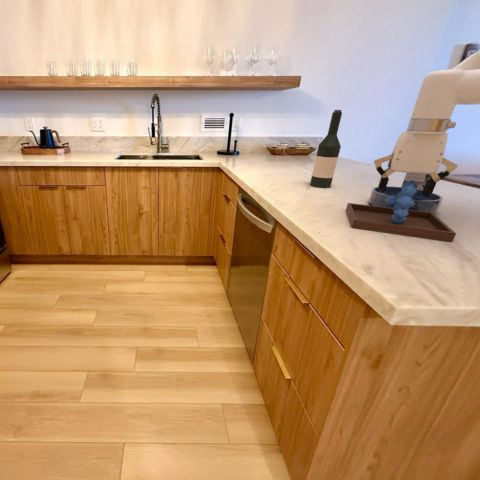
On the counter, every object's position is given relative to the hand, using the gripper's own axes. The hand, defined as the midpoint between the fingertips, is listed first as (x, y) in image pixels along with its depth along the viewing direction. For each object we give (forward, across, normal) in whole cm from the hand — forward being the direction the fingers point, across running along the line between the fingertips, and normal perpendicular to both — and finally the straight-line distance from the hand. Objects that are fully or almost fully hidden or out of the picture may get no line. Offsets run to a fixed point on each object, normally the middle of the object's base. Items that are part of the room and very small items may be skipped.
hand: (402, 193), depth 79 cm
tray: (+9, 0, 0) cm, 9 cm away
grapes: (+9, 0, 0) cm, 9 cm away
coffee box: (+9, -11, -33) cm, 36 cm away
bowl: (+9, -6, -20) cm, 23 cm away
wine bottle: (+9, +18, -42) cm, 47 cm away
